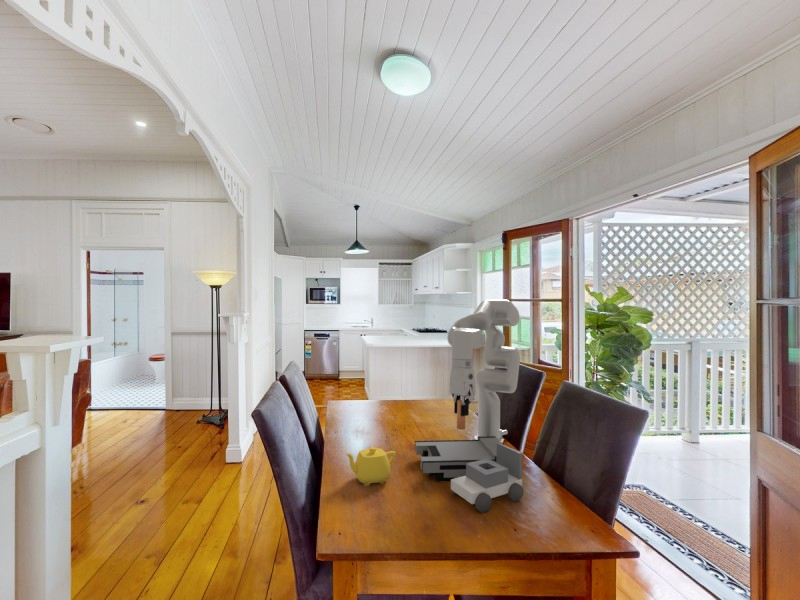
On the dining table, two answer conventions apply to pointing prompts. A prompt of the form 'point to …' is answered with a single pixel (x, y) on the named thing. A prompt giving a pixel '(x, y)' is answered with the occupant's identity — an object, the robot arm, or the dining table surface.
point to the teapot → (372, 465)
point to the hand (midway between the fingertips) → (461, 413)
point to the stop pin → (460, 418)
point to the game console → (454, 455)
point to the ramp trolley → (491, 479)
